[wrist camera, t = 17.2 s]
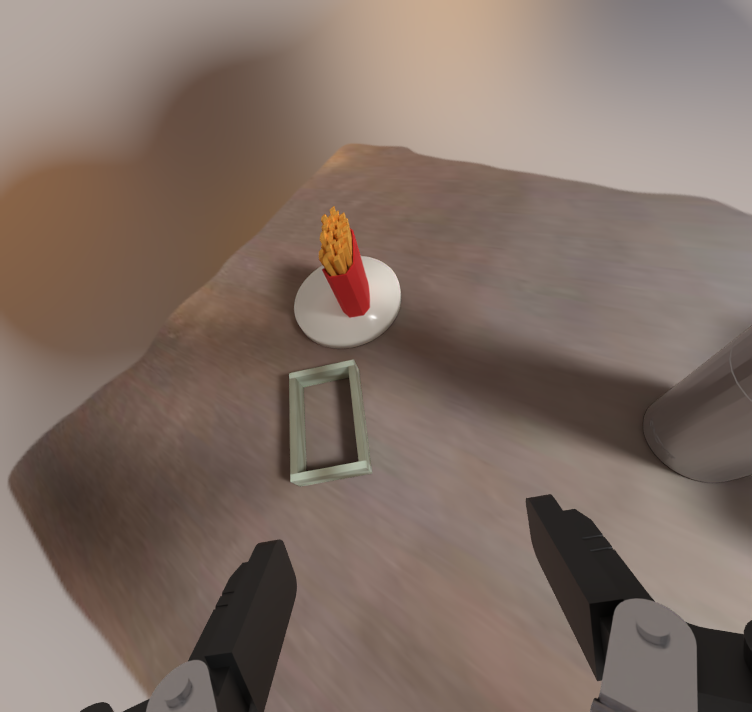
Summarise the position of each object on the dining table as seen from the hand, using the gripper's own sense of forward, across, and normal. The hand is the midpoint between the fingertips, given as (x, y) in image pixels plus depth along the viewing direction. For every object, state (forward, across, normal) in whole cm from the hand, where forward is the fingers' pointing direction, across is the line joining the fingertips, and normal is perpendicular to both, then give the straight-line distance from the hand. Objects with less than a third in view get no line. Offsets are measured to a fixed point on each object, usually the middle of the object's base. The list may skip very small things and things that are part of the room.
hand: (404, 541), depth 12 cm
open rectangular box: (+31, +10, +9) cm, 34 cm away
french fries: (+43, +4, -4) cm, 43 cm away
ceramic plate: (+44, +6, -4) cm, 45 cm away
